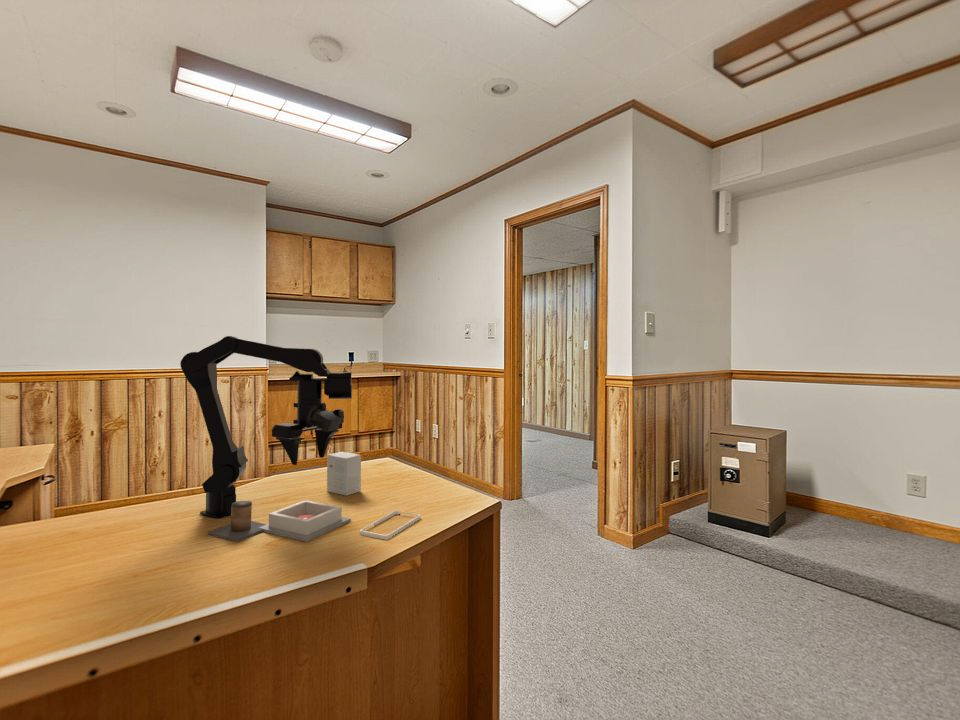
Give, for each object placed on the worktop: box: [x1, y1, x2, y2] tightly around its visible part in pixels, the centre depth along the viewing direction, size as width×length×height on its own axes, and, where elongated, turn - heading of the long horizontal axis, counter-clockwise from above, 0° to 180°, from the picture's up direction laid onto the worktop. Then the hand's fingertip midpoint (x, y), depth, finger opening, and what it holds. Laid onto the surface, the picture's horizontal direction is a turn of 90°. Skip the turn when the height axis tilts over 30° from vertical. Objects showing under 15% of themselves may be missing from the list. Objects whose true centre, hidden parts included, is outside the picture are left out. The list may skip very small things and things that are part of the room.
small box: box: [326, 451, 362, 496], centre depth 137 cm, size 8×6×10 cm
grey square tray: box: [258, 499, 351, 543], centre depth 110 cm, size 14×14×4 cm
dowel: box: [230, 500, 253, 532], centre depth 106 cm, size 4×4×6 cm
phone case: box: [359, 510, 421, 540], centre depth 111 cm, size 7×1×15 cm
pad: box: [207, 520, 267, 543], centre depth 106 cm, size 9×9×1 cm
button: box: [297, 515, 315, 520], centre depth 110 cm, size 4×4×1 cm
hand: (308, 461), depth 121 cm, fingers open, 9 cm apart
